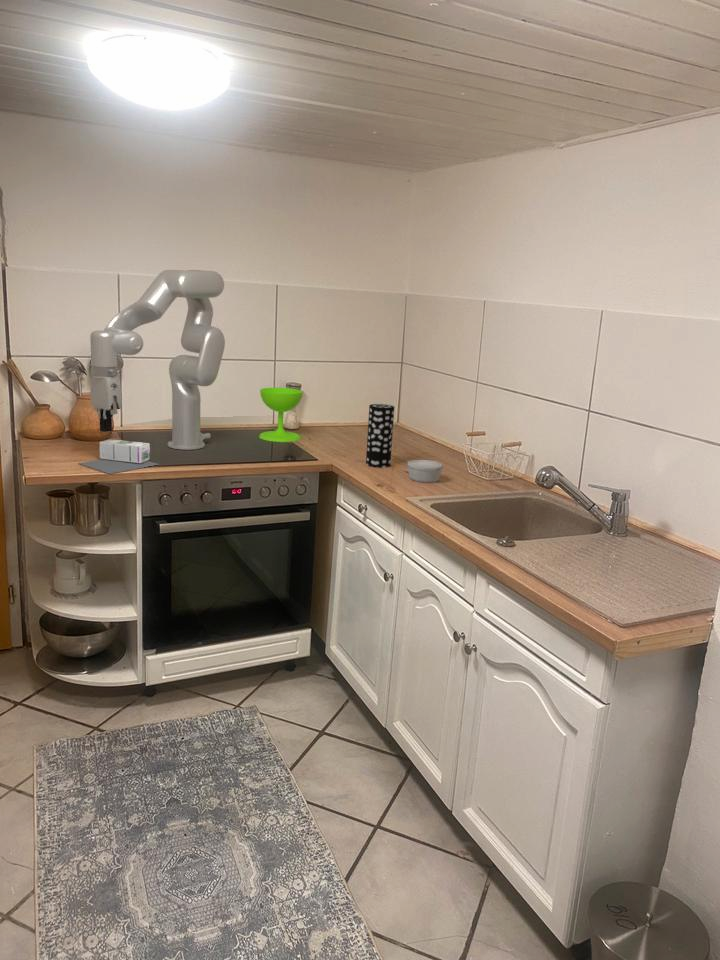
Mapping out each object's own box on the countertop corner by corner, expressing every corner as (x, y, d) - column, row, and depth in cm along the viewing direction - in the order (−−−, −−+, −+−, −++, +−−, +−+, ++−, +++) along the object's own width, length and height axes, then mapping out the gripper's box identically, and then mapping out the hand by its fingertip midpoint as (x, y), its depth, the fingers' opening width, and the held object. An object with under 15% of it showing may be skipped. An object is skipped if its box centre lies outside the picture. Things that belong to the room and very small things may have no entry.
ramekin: (419, 473, 245) (420, 457, 243) (448, 480, 238) (449, 464, 236) (399, 478, 236) (400, 462, 235) (428, 486, 229) (429, 469, 228)
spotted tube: (373, 468, 247) (376, 408, 242) (361, 462, 254) (364, 404, 249) (394, 467, 250) (399, 407, 245) (382, 461, 258) (386, 403, 253)
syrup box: (99, 459, 235) (141, 464, 232) (99, 440, 234) (141, 446, 231) (109, 455, 241) (150, 461, 238) (109, 437, 239) (150, 443, 236)
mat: (128, 455, 243) (128, 455, 243) (159, 465, 234) (159, 464, 234) (78, 464, 229) (78, 463, 229) (109, 474, 220) (109, 473, 220)
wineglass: (250, 435, 287) (251, 388, 282) (284, 432, 297) (285, 386, 293) (275, 443, 275) (277, 394, 271) (309, 439, 286) (311, 392, 281)
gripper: (129, 374, 227) (130, 433, 232) (100, 368, 236) (102, 425, 240) (108, 375, 221) (109, 436, 226) (79, 369, 230) (81, 428, 235)
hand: (106, 430), depth 233 cm, fingers closed
